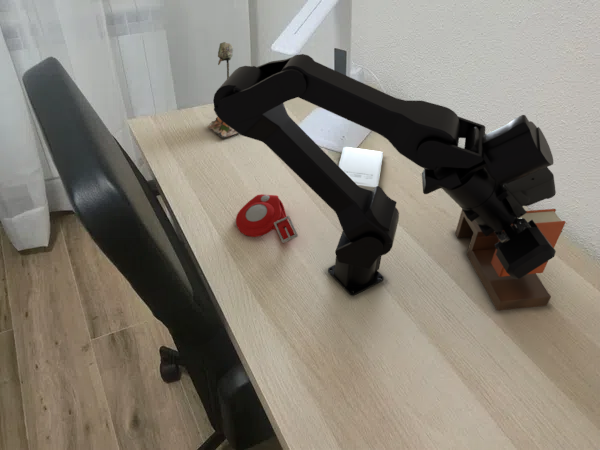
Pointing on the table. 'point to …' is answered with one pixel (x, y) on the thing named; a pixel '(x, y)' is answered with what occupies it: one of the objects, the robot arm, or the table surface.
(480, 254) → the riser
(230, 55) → the plant with pod
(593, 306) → the table surface
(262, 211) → the tracker holder
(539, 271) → the book
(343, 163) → the hard drive
